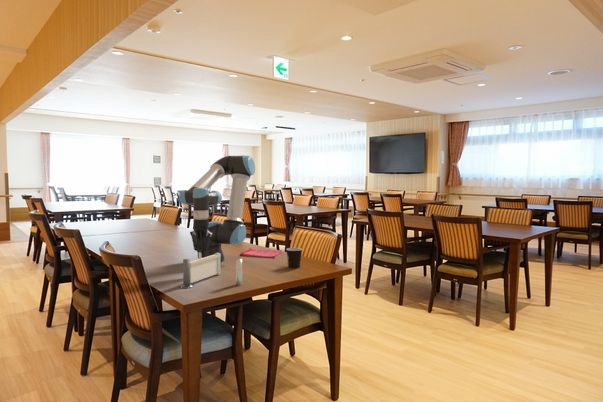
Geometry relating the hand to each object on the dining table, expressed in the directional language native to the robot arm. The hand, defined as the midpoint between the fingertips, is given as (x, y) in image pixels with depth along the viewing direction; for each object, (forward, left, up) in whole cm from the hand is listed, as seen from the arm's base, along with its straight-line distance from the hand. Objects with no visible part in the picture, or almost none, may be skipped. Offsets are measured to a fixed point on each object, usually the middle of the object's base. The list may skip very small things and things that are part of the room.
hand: (201, 264), depth 201 cm
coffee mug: (+30, +41, -6) cm, 51 cm away
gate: (+8, -7, -5) cm, 11 cm away
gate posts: (+17, -11, -5) cm, 21 cm away
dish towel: (-5, +58, -6) cm, 58 cm away
